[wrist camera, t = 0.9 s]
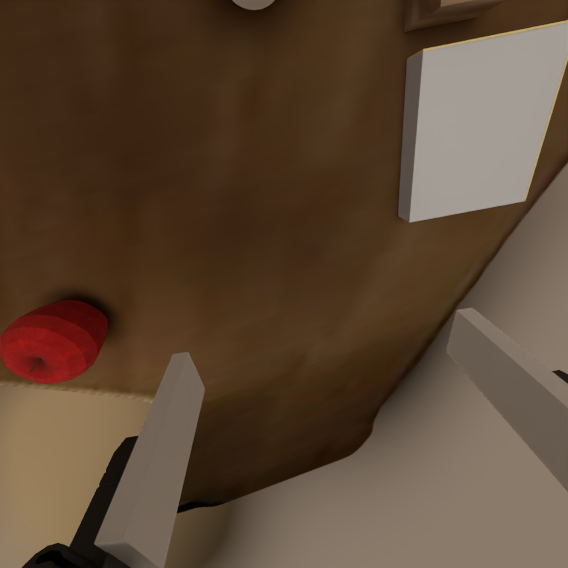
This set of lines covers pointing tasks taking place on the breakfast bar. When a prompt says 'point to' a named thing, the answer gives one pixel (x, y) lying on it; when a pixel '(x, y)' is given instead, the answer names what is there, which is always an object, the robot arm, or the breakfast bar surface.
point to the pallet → (442, 12)
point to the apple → (54, 341)
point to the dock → (477, 120)
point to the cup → (253, 4)
